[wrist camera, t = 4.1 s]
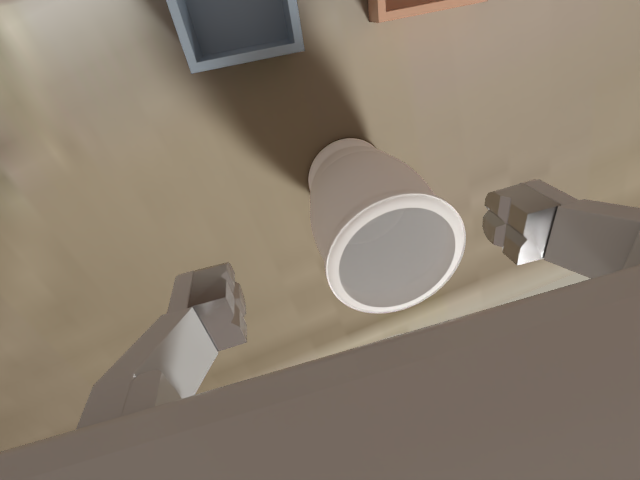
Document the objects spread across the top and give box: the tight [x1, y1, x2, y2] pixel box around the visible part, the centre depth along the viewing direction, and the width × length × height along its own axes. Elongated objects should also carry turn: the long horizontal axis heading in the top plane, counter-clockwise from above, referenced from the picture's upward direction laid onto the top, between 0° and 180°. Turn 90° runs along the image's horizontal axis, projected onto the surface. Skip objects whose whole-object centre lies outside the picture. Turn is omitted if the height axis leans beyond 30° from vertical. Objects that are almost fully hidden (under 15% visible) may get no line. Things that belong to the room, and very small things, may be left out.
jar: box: [308, 138, 466, 313], centre depth 30 cm, size 11×10×15 cm
